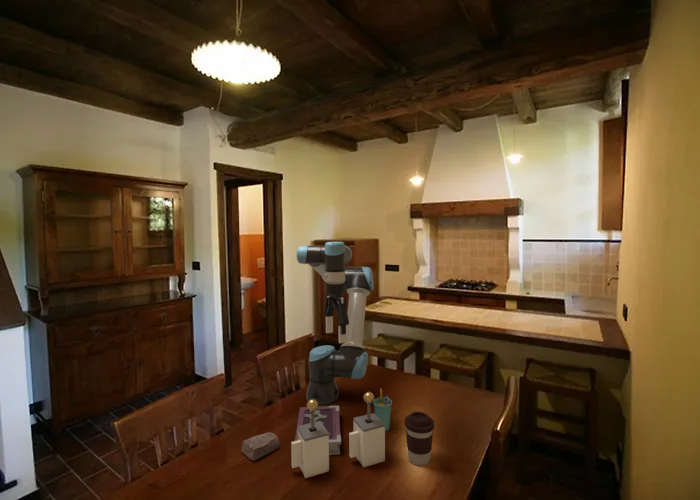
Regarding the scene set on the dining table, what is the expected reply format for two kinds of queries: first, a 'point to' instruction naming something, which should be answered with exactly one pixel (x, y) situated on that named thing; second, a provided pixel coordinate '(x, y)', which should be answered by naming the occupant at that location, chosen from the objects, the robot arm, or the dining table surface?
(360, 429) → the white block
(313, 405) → the plunger
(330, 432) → the book
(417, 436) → the coffee cup
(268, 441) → the stone
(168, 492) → the dining table surface
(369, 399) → the plunger
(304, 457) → the cream joystick box
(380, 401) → the cup
